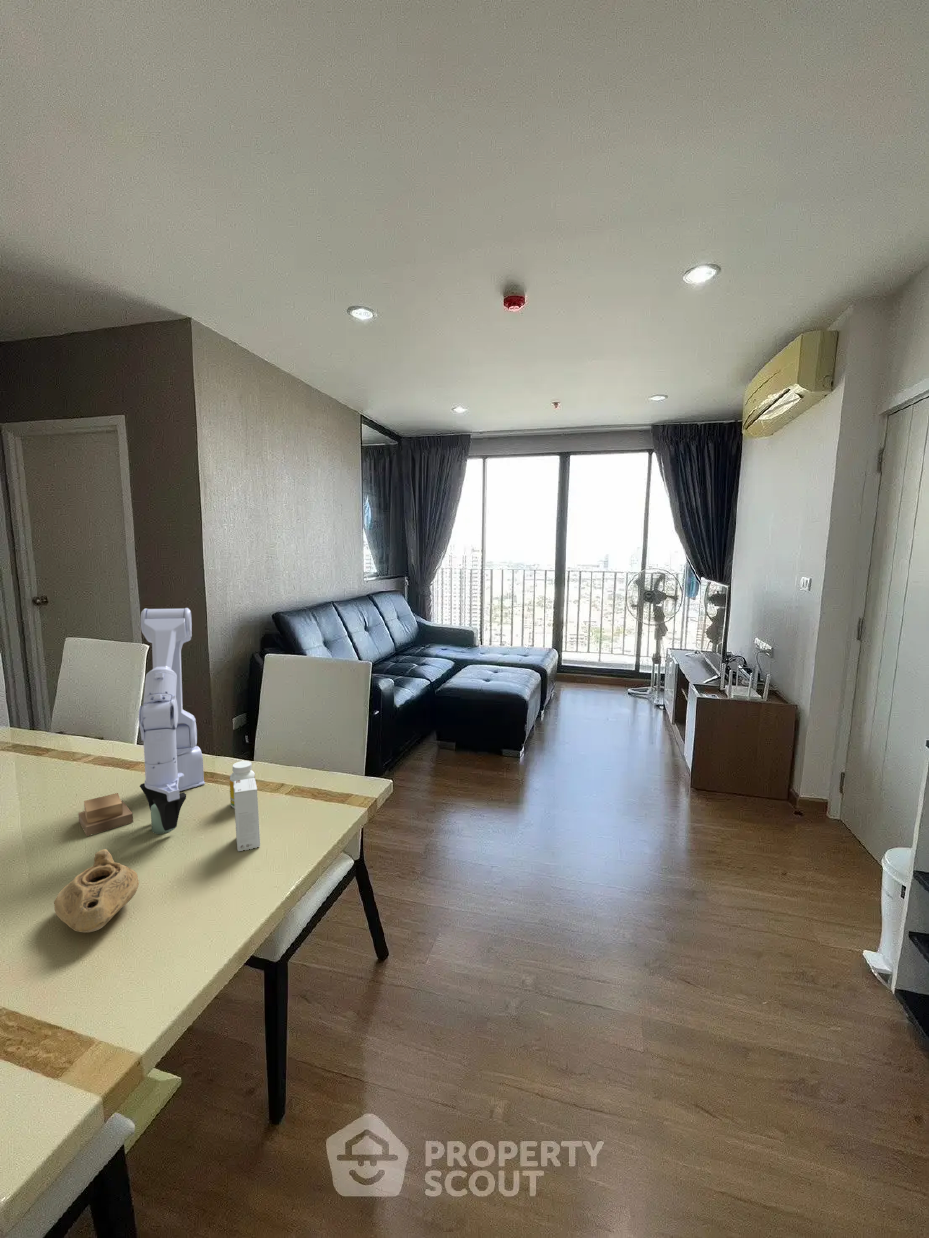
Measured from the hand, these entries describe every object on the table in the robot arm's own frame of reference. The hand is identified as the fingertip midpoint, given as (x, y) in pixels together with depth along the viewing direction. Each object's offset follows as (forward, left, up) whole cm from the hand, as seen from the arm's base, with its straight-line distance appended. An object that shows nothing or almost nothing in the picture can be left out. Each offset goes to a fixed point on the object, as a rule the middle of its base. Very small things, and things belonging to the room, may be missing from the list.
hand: (164, 821), depth 106 cm
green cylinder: (0, 0, -2) cm, 2 cm away
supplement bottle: (-16, +1, -2) cm, 16 cm away
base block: (+8, -11, -2) cm, 14 cm away
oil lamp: (+15, +22, -2) cm, 27 cm away
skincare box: (-10, +17, -2) cm, 20 cm away
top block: (+8, -11, 0) cm, 14 cm away
